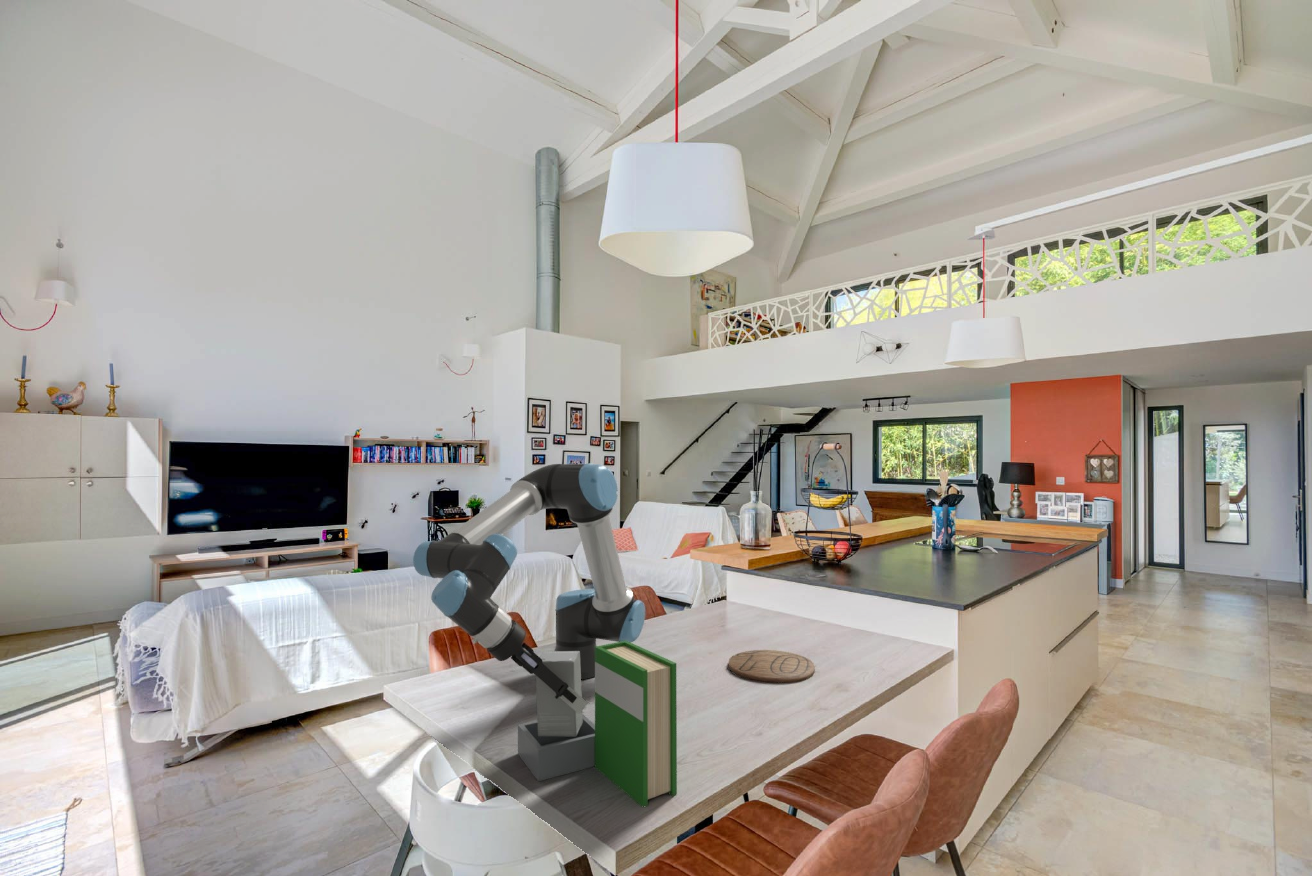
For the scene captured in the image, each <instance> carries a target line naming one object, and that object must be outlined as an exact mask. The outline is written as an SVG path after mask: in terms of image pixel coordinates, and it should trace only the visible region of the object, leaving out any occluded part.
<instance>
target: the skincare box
mask: <svg viewBox="0 0 1312 876" xmlns="http://www.w3.org/2000/svg"><path fill="white" fill-rule="evenodd" d="M539 657H540V658H541V659H542V663H543V664H544V665H545V666H546V667H547V668H549V669H550V670H551V671H552V672H553V673H554V674H555V675H556V676H558V677H559V678H560V679H561V680H562V681H563V682H565V683H567V684H568V686H570V687H571V688H572V689H573V690H574V691H575V692H576V693H577V694H579V695H580V696H581V697H582V698H583V696H582V695H583V694H582V692H583V691H582V680H581V667H580V651H554V650H553V651H552V650H551V651H550V650H548V651H547V650H544V651H542V653H541V654H540V655H539ZM535 683H536V684H535V687H536V689H535V690H536V713H537V714H536V718H537V719H536V721H537V722H538V736H554V737H576V736H577V734H578V731H579V729H580V727H581V725H582V723H583V716H582V714H583V711H582V712H581V713H580V715H579V714H578V713H577V712H576V711H575V710H574V709H572V708H571V707H570V706H569V705H568V704H567V703H566V702H564V701H563V700H562V699H561V698H560V697H558V699H556V698H555V696H556V693H555V692H554V691H553V690H552V689H551V688H550V687H549V686H548V685H546V684H545V683H544V682H543V681H542V680H541V679H540V678H538V677H537V676H536V675H535Z"/></svg>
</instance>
